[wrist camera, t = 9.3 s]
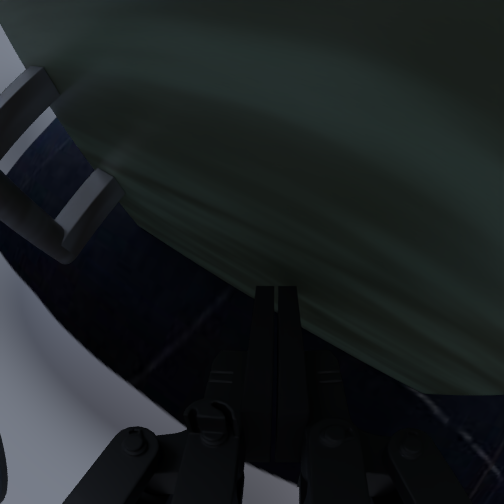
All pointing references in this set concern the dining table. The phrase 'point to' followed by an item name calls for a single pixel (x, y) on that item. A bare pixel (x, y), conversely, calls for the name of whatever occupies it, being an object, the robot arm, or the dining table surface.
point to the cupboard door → (291, 158)
